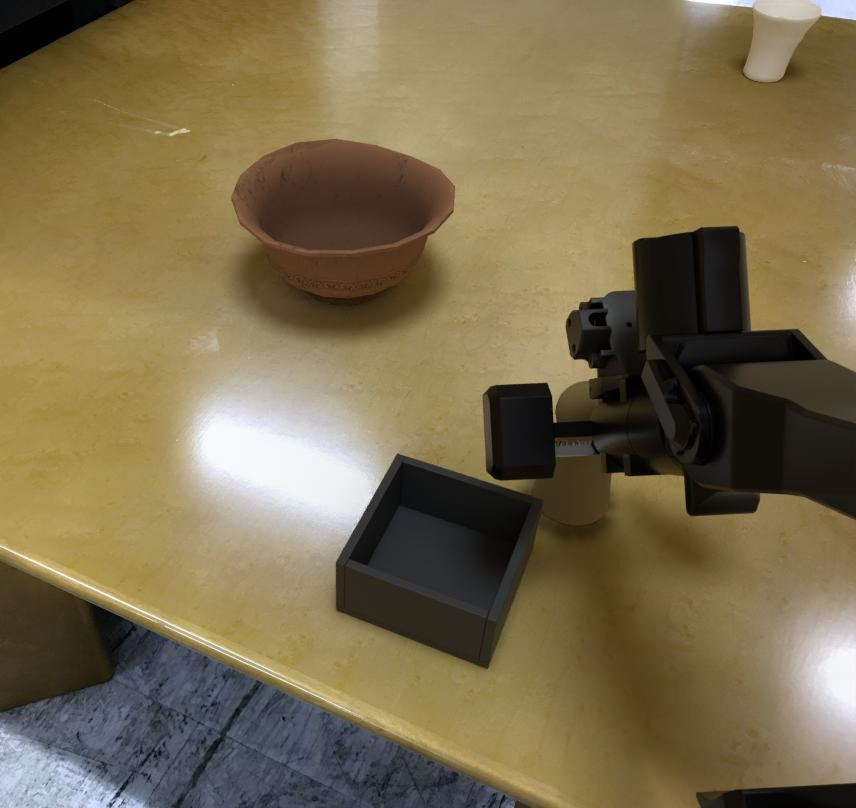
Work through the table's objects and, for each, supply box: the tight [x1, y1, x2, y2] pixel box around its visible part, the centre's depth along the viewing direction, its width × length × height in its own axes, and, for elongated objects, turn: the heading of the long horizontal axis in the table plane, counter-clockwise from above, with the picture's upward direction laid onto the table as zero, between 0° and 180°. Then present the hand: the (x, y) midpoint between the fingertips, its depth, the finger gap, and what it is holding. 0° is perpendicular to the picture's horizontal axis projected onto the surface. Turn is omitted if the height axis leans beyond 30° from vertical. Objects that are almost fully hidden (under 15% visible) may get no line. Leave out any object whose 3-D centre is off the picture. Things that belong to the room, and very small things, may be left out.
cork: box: [531, 380, 613, 527], centre depth 69 cm, size 6×6×11 cm
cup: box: [742, 0, 823, 84], centre depth 127 cm, size 9×9×10 cm
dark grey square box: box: [335, 453, 544, 669], centre depth 65 cm, size 11×11×6 cm
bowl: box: [230, 138, 456, 307], centre depth 91 cm, size 22×22×11 cm
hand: (588, 427), depth 67 cm, fingers open, 9 cm apart
